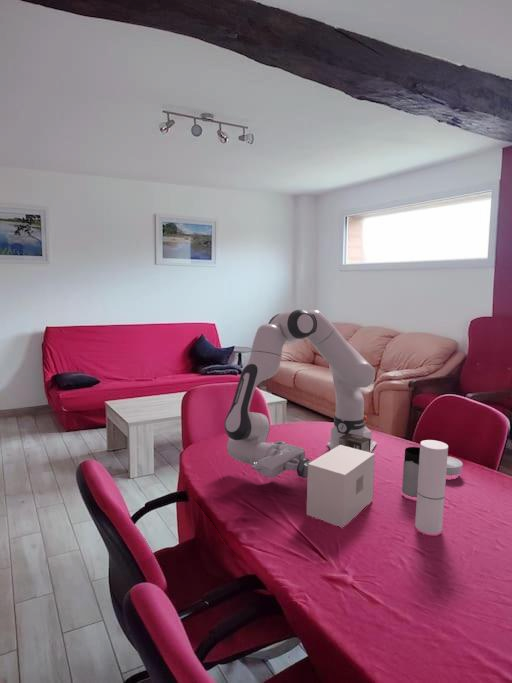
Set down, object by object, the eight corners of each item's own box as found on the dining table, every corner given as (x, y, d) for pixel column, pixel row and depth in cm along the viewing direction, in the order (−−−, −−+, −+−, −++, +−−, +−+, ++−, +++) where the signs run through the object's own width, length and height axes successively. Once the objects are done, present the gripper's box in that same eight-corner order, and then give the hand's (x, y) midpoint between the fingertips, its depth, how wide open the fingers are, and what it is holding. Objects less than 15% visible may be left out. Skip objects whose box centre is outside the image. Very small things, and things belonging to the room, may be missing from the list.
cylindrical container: (441, 525, 132) (447, 441, 129) (442, 538, 126) (449, 450, 122) (415, 520, 135) (420, 438, 131) (414, 533, 128) (420, 447, 125)
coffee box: (369, 483, 159) (371, 438, 156) (359, 489, 154) (362, 443, 152) (346, 475, 165) (348, 432, 163) (336, 481, 160) (338, 436, 158)
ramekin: (427, 478, 164) (428, 464, 163) (428, 466, 174) (429, 453, 173) (462, 484, 159) (463, 469, 159) (461, 471, 170) (462, 457, 169)
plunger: (306, 473, 152) (307, 455, 151) (347, 485, 142) (348, 467, 142) (296, 479, 147) (297, 461, 146) (338, 492, 138) (339, 473, 137)
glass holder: (395, 495, 151) (398, 451, 148) (414, 481, 161) (417, 440, 159) (421, 504, 145) (424, 458, 143) (439, 489, 155) (442, 446, 153)
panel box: (338, 490, 153) (339, 444, 151) (372, 502, 146) (374, 453, 143) (306, 515, 137) (307, 463, 135) (342, 528, 130) (345, 474, 128)
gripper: (248, 457, 149) (283, 468, 140) (284, 439, 165) (318, 448, 156) (248, 475, 150) (283, 487, 141) (284, 456, 166) (317, 466, 157)
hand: (301, 467), depth 149 cm, fingers closed, pressing on plunger
